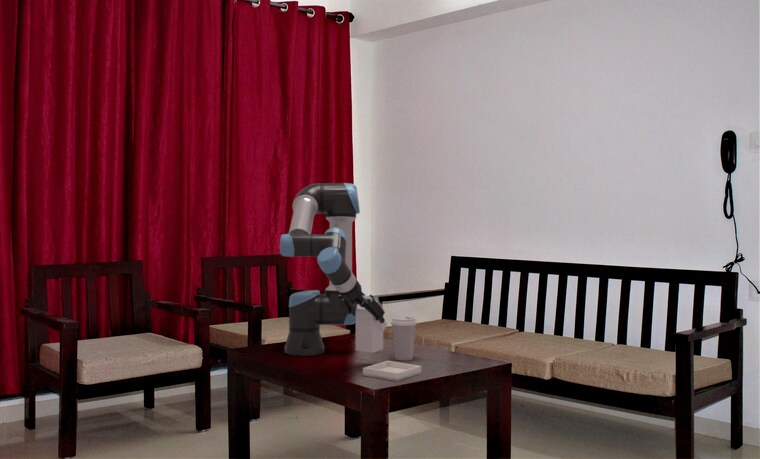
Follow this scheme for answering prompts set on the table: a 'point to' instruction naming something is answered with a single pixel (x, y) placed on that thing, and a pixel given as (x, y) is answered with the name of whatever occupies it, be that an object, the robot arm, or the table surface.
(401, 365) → the ceramic tray
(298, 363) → the table surface
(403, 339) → the coffee cup
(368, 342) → the milk carton
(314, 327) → the robot arm
